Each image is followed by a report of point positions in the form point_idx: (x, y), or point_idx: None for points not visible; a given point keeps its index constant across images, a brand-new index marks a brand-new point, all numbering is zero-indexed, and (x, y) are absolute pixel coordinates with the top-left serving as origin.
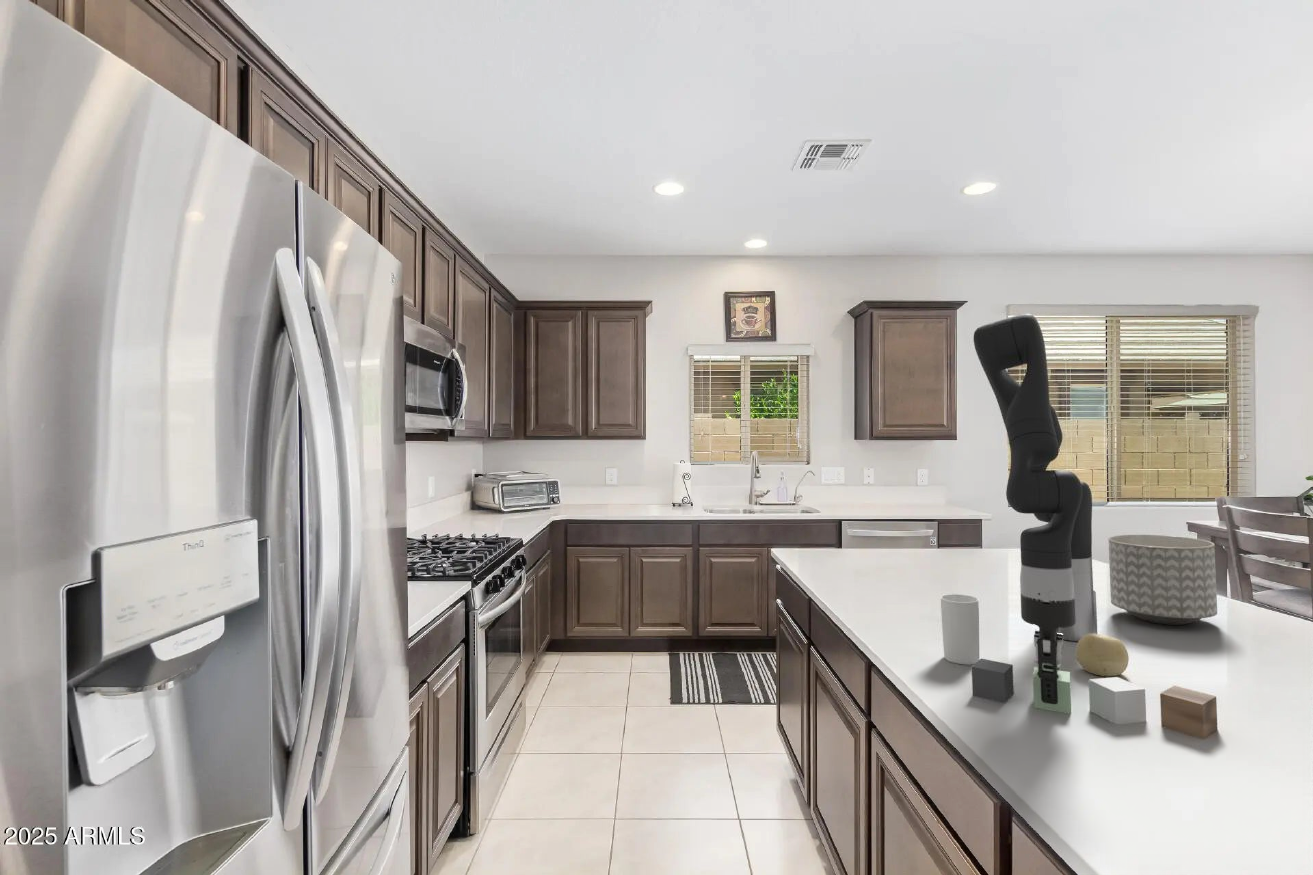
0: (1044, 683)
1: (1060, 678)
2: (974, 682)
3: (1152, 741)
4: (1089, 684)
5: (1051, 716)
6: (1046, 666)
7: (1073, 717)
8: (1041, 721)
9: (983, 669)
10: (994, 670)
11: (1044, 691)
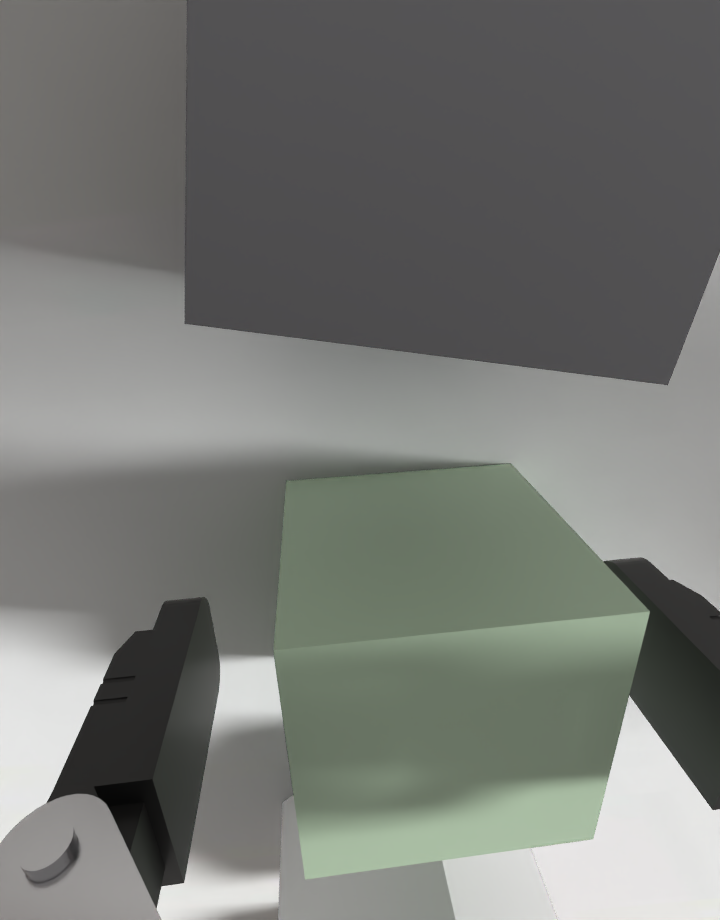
0: (65, 784)
1: (376, 820)
2: None
3: (172, 895)
4: (440, 891)
5: (186, 584)
6: (707, 687)
7: (252, 670)
8: (50, 550)
9: None
10: (235, 138)
11: (99, 702)
